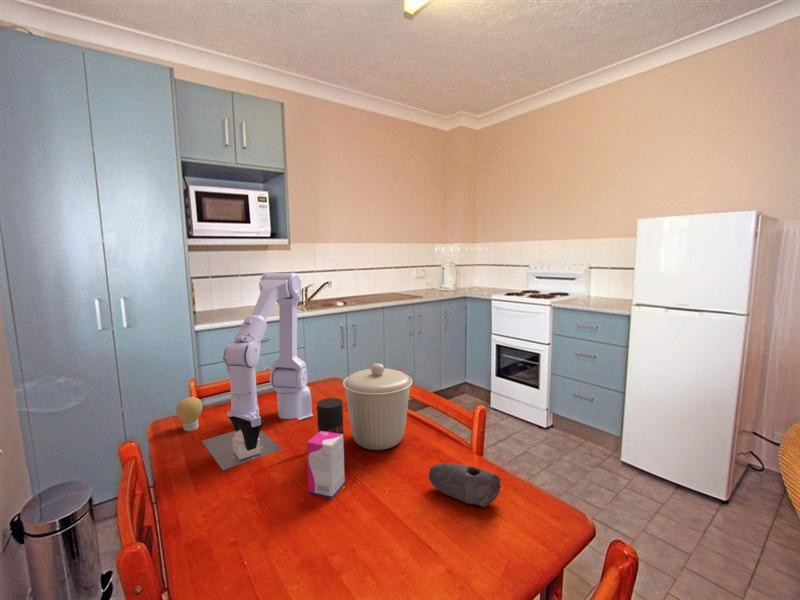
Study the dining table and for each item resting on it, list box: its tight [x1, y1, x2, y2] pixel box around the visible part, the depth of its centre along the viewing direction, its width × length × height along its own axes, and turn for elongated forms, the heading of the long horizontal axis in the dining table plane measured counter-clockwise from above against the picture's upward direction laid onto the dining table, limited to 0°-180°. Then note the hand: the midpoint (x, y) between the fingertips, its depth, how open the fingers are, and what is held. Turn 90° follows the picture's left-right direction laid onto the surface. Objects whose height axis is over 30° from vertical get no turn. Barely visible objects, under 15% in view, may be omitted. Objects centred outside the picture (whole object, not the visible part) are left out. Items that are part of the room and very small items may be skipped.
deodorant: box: [316, 397, 345, 445], centre depth 91 cm, size 6×6×15 cm
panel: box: [200, 429, 282, 471], centre depth 98 cm, size 14×18×4 cm
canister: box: [342, 362, 413, 451], centre depth 101 cm, size 18×18×21 cm
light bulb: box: [175, 396, 204, 432], centre depth 108 cm, size 6×6×10 cm
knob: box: [232, 430, 261, 460], centre depth 94 cm, size 5×5×5 cm
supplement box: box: [306, 431, 346, 500], centre depth 82 cm, size 6×6×12 cm
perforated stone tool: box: [428, 462, 502, 508], centre depth 79 cm, size 15×5×7 cm, turn 58°
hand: (247, 444), depth 95 cm, fingers closed on knob, 5 cm apart
